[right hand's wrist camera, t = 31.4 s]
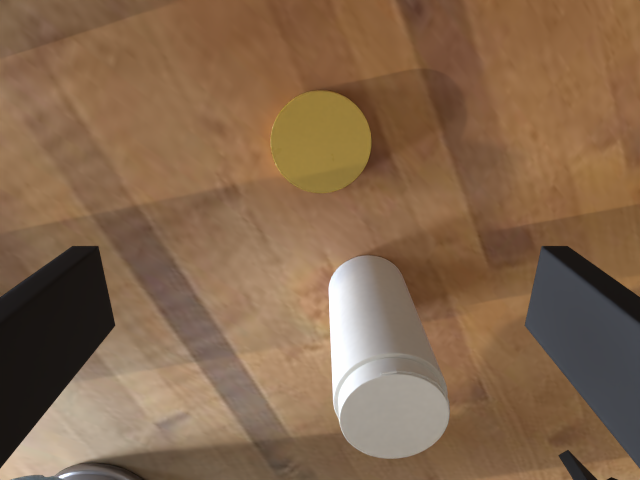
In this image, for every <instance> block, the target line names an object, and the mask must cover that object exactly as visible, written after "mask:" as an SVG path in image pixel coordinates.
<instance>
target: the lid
mask: <svg viewBox="0 0 640 480" xmlns="http://www.w3.org/2000/svg"><path fill="white" fill-rule="evenodd" d="M270 144H271V152H272V157H273V159H274V162H275V164H276V166H277V168H278V170H279V171H280V173H281V174H282V175H283V176H284V177H285V179H287V180H288V181H289V182H290V183H291V184H293V185H294V186H296V187H298V188H300V189H302V190H305V191H308V192H313V193H329V192H334V191H337V190H340V189H342V188H344V187H346V186H348V185H349V184H351V183H352V182H353V181H354V180H355V179H356V178H357V177H358V176H359V175H360V174H361V172H362V171H363V170H364V168H365V166H366V164H367V162H368V159H369V156H370V152H371V132H370V128H369V125H368V122H367V120H366V118H365V116H364V114H363V113H362V111H361V110H360V109H359V108H358V107H357V106H356V105H355V104H354V103H353V102H352V101H351V100H350V99H348V98H347V97H345V96H343V95H341V94H339V93H336V92H333V91H329V90H314V91H309V92H306V93H303V94H301V95H299V96H297V97H295V98H294V99H292V100H291V101H290V102H289V103H288V104H287V105H286V106H285V107H284V108H283V109H282V110H281V111H280V113H279V114H278V116H277V118H276V120H275V122H274V125H273V128H272V132H271V142H270Z"/></svg>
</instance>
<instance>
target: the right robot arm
mask: <svg viewBox="0 0 640 480" xmlns="http://www.w3.org/2000/svg"><path fill="white" fill-rule="evenodd" d="M114 326H115V322H114V317H113V313H112V308H111V303H110V299H109V294H108V289H107V284H106V280H105V275H104V270H103V266H102V261H101V256H100V252H99V247H98V246H72V247H71V248H69V249H68V250H66V251H65V252H63V253H62V254H61V255H59V256H58V257H56V258H55V259H54V260H52V261H51V262H49V263H48V264H47V265H45V266H44V267H42V268H41V269H39V270H38V271H37V272H35V273H34V274H32V275H31V276H30V277H28V278H27V279H25V280H24V281H22V282H21V283H20V284H18V285H17V286H15V287H14V288H13V289H11V290H10V291H8V292H7V293H6V294H4V295H3V296H1V297H0V468H1V467H2V466H3V464H4V463H5V462H6V461H7V459H8V458H9V457H10V456H11V454H12V453H13V452H14V451H15V449H16V448H17V447H18V446H19V445H20V443H21V442H22V441H23V440H24V438H25V437H26V436H27V435H28V433H29V432H30V431H31V430H32V428H33V427H34V426H35V425H36V423H37V422H38V421H39V420H40V418H41V417H42V416H43V415H44V413H45V412H46V411H47V410H48V408H49V407H50V406H51V405H52V403H53V402H54V401H55V400H56V399H57V397H58V396H59V395H60V394H61V392H62V391H63V390H64V389H65V387H66V386H67V385H68V384H69V382H70V381H71V380H72V379H73V377H74V376H75V375H76V374H77V372H78V371H79V370H80V369H81V367H82V366H83V365H84V364H85V362H86V361H87V360H88V359H89V358H90V356H91V355H92V354H93V353H94V351H95V350H96V349H97V348H98V346H99V345H100V344H101V343H102V341H103V340H104V339H105V338H106V336H107V335H108V334H109V333H110V331H111V330H112V329H113V328H114ZM525 326H526V328H527V329H528V330H529V331H530V333H531V334H532V335H533V336H534V338H535V339H536V340H537V341H538V343H539V344H540V345H541V346H542V348H543V349H544V350H545V351H546V353H547V354H548V355H549V356H550V358H551V359H552V360H553V361H554V362H555V364H556V365H557V366H558V367H559V369H560V370H561V371H562V372H563V374H564V375H565V376H566V377H567V379H568V380H569V381H570V382H571V384H572V385H573V386H574V387H575V389H576V390H577V391H578V392H579V394H580V395H581V396H582V397H583V399H584V400H585V401H586V402H587V403H588V405H589V406H590V407H591V408H592V410H593V411H594V412H595V413H596V415H597V416H598V417H599V418H600V420H601V421H602V422H603V423H604V425H605V426H606V427H607V428H608V430H609V431H610V432H611V433H612V435H613V436H614V437H615V438H616V440H617V441H618V442H619V443H620V445H621V446H622V447H623V448H624V449H625V451H626V452H627V453H628V454H629V456H630V457H631V458H632V459H633V461H634V462H635V463H636V464H637V466H638V467H639V468H640V297H639V296H637V295H636V294H634V293H633V292H632V291H630V290H629V289H627V288H626V287H625V286H623V285H622V284H620V283H619V282H618V281H616V280H615V279H613V278H612V277H610V276H609V275H608V274H606V273H605V272H603V271H602V270H601V269H599V268H598V267H596V266H595V265H593V264H592V263H591V262H589V261H588V260H586V259H585V258H584V257H582V256H581V255H579V254H578V253H577V252H575V251H574V250H572V249H571V248H569V247H568V246H542V247H541V252H540V256H539V261H538V266H537V270H536V275H535V280H534V284H533V289H532V294H531V299H530V303H529V308H528V313H527V317H526V322H525Z"/></svg>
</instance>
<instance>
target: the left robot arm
mask: <svg viewBox="0 0 640 480" xmlns="http://www.w3.org/2000/svg"><path fill="white" fill-rule="evenodd" d="M559 457H560V459H561V460H562V462H563V464H564V465H565V467H566V468H567V470H568V472H569V473H570V475H571V476H572V478H573V480H597V479H596V478H595V477H594V476H593V475H592V474H591V473H590V472H589V471H588V470H587V469H586V468H585V467H584V466H583V465H582V464H581V463H580V462H579V461H578V460H577V459H576V458H575V457H574V456H573V455H572V454H571V452H570V451H569V450H567V451H565V452H564V453H562V454H560V455H559ZM11 480H143V479H141V478H140V477H138V476H137V475H135V474H133V473H131V472H129V471H127V470H125V469H122V468H119V467H116V466H112V465H108V464H100V463H85V464H78V465H74V466H71V467H68V468H66V469H64V470H62V471H60V472H59V473H58V474H56V475H55V476H51V477H44V476H43V475H30V476H24V477H19V478H15V479H11ZM607 480H617V479H615V478H612V477H611V478H609V479H607Z"/></svg>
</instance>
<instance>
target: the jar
mask: <svg viewBox="0 0 640 480" xmlns="http://www.w3.org/2000/svg"><path fill="white" fill-rule="evenodd" d="M329 308H330V333H331V358H332V382H333V403H334V409H335V412H336V414H337V417H338V418H339V422H340V427H341V431H342V433H343V435H344V436H345V438H346V439H347V441H348V442H349V443H350V444H351V445H352V446H353V447H355V448H356V449H358V450H359V451H361V452H363V453H365V454H367V455H370V456H374V457H378V458H385V459H396V458H404V457H408V456H412V455H415V454H418V453H420V452H422V451H424V450H426V449H427V448H429V447H431V446H432V445H433V444H434V443H435V442H436V441H437V440H438V439H439V438H440V437H441V436H442V434H443V433H444V431H445V429H446V427H447V425H448V421H449V414H450V407H449V403H450V402H449V400H448V398H447V386H446V383H445V380H444V377H443V375H442V372H441V370H440V368H439V365H438V363H437V360H436V358H435V355H434V353H433V350H432V348H431V345H430V343H429V340H428V338H427V335H426V333H425V330H424V328H423V325H422V323H421V320H420V318H419V315H418V313H417V310H416V308H415V306H414V303H413V301H412V298H411V296H410V293H409V291H408V288H407V286H406V283H405V281H404V278H403V276H402V274H401V272H400V271H399V269H398V268H397V267H396V266H395V265H394V264H393V263H392V262H390V261H388V260H387V259H384V258H382V257H378V256H372V255H365V256H359V257H355V258H352V259H350V260H348V261H346V262H345V263H343V264H342V265H341V266H340V267H339V268H338V269H337V270H336V271H335V273H334V274H333V276H332V278H331V281H330V284H329Z"/></svg>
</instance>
